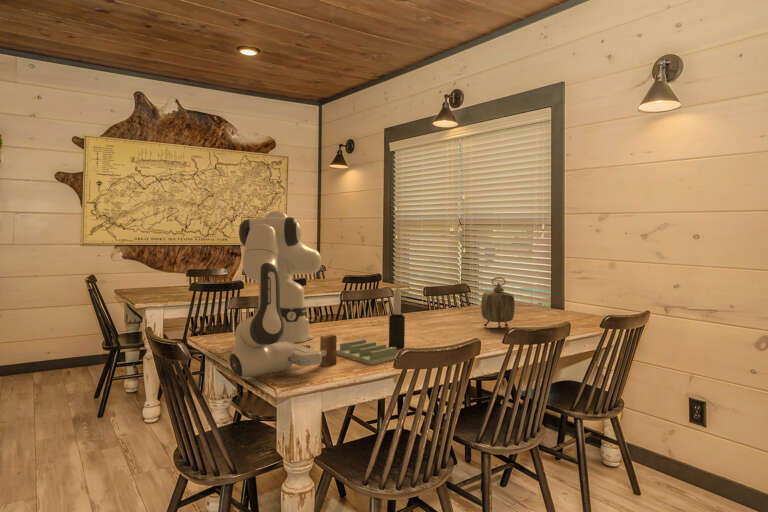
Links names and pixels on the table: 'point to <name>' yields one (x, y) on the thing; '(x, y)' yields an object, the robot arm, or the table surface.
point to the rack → (367, 351)
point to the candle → (396, 323)
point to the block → (328, 349)
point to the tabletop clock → (497, 305)
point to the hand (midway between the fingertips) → (317, 349)
